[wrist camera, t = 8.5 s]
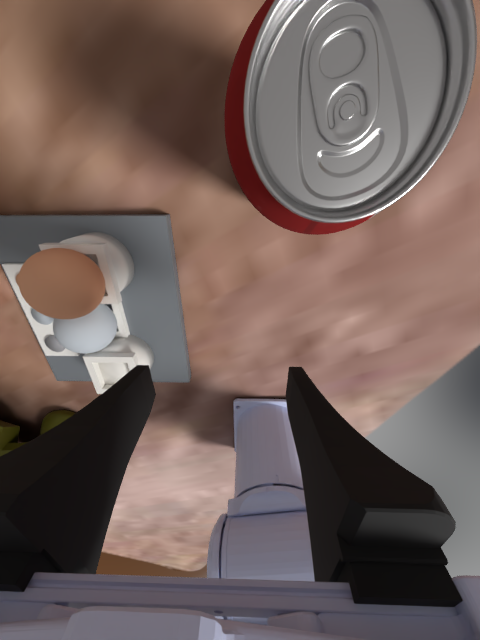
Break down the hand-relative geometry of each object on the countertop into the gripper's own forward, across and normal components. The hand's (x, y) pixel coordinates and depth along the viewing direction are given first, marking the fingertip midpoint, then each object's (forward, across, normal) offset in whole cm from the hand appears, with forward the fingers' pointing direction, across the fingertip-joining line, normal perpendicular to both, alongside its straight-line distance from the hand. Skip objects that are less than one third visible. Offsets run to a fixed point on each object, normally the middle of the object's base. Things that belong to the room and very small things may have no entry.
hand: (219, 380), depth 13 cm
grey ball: (+7, +12, +1) cm, 14 cm away
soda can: (+11, -4, -11) cm, 16 cm away
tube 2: (+9, +10, +6) cm, 15 cm away
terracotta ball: (+5, +10, -4) cm, 12 cm away
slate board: (+10, +12, +1) cm, 16 cm away
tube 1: (+9, +10, -4) cm, 14 cm away
